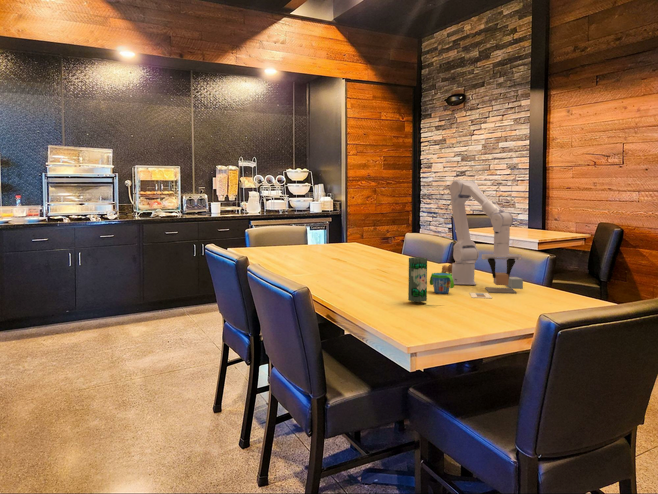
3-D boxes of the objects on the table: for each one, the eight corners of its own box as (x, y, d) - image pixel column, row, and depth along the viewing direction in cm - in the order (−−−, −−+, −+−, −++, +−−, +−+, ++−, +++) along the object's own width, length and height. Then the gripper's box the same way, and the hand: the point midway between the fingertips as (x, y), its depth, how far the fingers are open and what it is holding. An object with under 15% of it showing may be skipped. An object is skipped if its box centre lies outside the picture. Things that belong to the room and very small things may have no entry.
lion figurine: (460, 278, 231) (460, 262, 230) (454, 278, 228) (454, 263, 228) (441, 275, 241) (442, 260, 240) (435, 276, 238) (435, 261, 238)
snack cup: (424, 291, 194) (424, 272, 193) (439, 290, 197) (440, 271, 197) (442, 296, 184) (443, 276, 183) (459, 294, 187) (459, 274, 186)
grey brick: (511, 289, 200) (511, 279, 200) (505, 286, 207) (505, 276, 207) (522, 289, 200) (522, 279, 200) (516, 286, 207) (516, 276, 207)
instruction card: (472, 297, 180) (472, 296, 180) (469, 293, 189) (469, 292, 189) (492, 298, 178) (492, 297, 178) (488, 293, 188) (488, 292, 188)
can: (415, 302, 171) (415, 259, 170) (405, 299, 177) (405, 257, 176) (429, 300, 174) (430, 258, 173) (419, 298, 179) (420, 257, 178)
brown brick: (496, 285, 191) (496, 274, 190) (493, 282, 197) (493, 272, 197) (508, 285, 190) (508, 275, 190) (505, 282, 197) (505, 272, 196)
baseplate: (488, 292, 190) (489, 291, 190) (485, 288, 200) (485, 287, 200) (516, 293, 188) (516, 291, 188) (511, 289, 198) (511, 287, 198)
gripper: (483, 243, 190) (482, 278, 191) (523, 244, 187) (522, 279, 188) (481, 242, 197) (480, 276, 198) (519, 242, 194) (518, 277, 195)
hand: (500, 277), depth 194 cm, fingers closed on brown brick, 4 cm apart
